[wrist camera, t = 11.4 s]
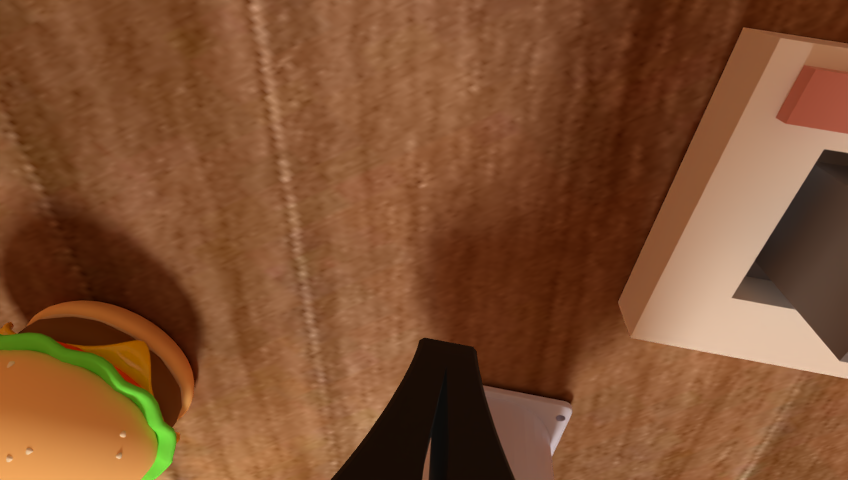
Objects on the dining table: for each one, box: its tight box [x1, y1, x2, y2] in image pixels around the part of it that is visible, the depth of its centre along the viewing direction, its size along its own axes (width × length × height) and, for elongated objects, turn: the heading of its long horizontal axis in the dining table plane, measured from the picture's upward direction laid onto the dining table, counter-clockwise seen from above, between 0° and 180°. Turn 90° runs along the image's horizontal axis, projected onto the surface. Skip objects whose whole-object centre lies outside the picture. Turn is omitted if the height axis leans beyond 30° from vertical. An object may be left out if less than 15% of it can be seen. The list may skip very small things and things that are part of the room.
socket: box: [618, 27, 848, 378], centre depth 17 cm, size 12×12×3 cm
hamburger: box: [0, 300, 194, 480], centre depth 25 cm, size 12×12×9 cm
